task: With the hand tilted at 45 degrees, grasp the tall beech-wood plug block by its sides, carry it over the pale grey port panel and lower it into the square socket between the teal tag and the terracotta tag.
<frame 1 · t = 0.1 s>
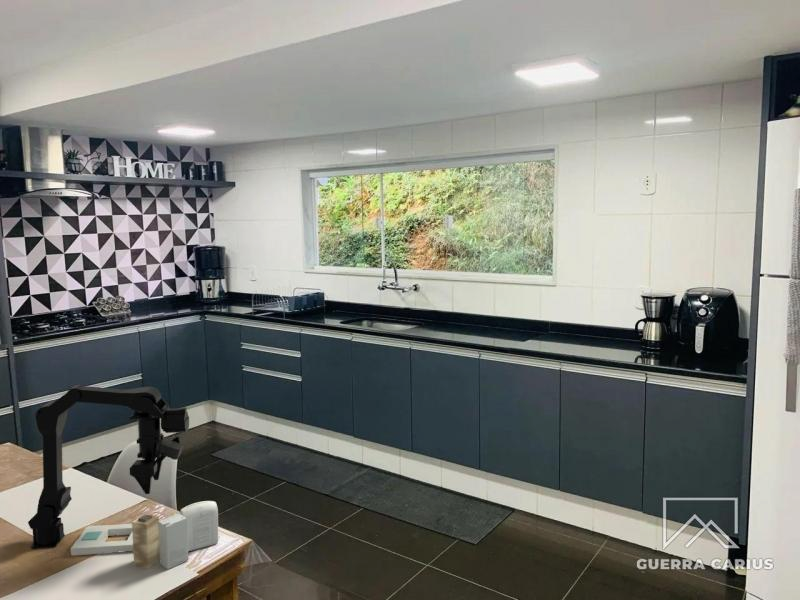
hand: (152, 486, 168), 15 cm above the table, tool pointing down, fingers open, 9 cm apart
skincare box: (174, 563, 156), on the table
port panel: (117, 541, 166), on the table
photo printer: (199, 546, 165), on the table
plug: (147, 562, 156), on the table
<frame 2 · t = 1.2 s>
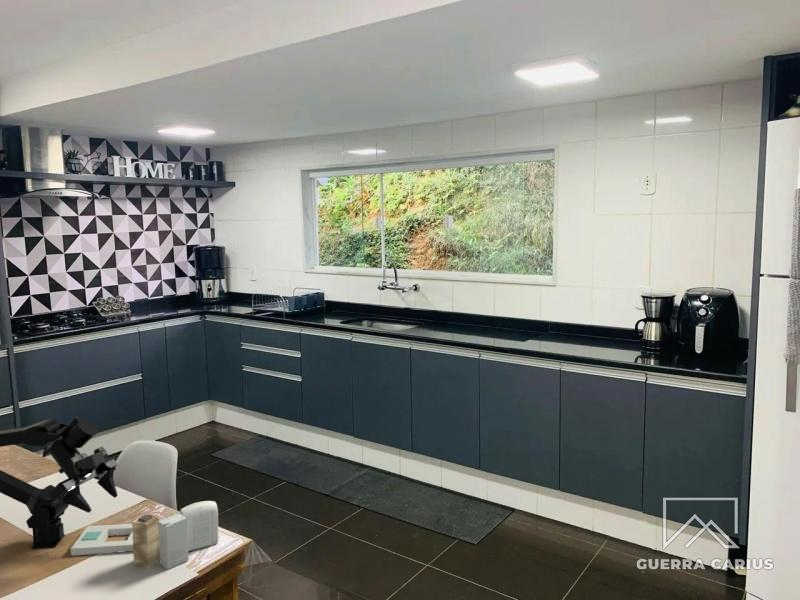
hand: (103, 503, 160), 13 cm above the table, tool tilted 45°, fingers open, 9 cm apart
nothing on the table moved.
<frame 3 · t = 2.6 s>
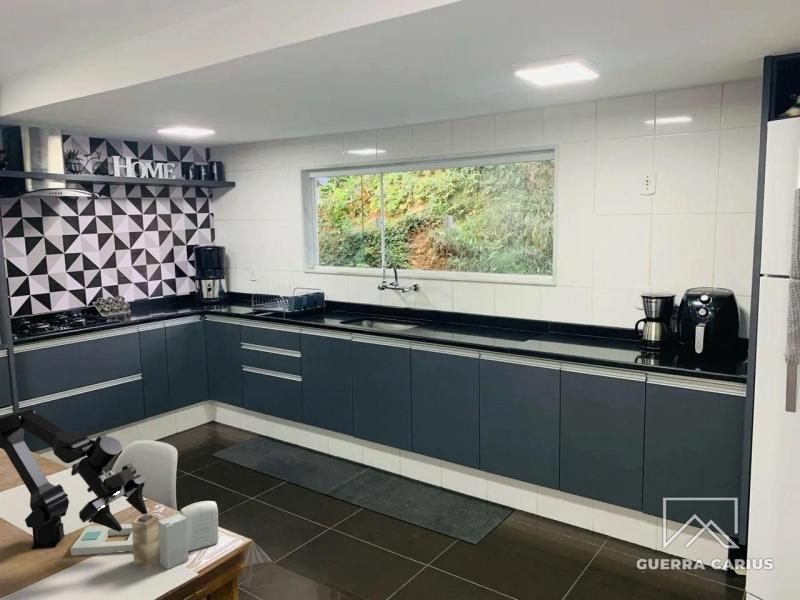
hand: (133, 522, 156), 11 cm above the table, tool tilted 45°, fingers open, 9 cm apart
nothing on the table moved.
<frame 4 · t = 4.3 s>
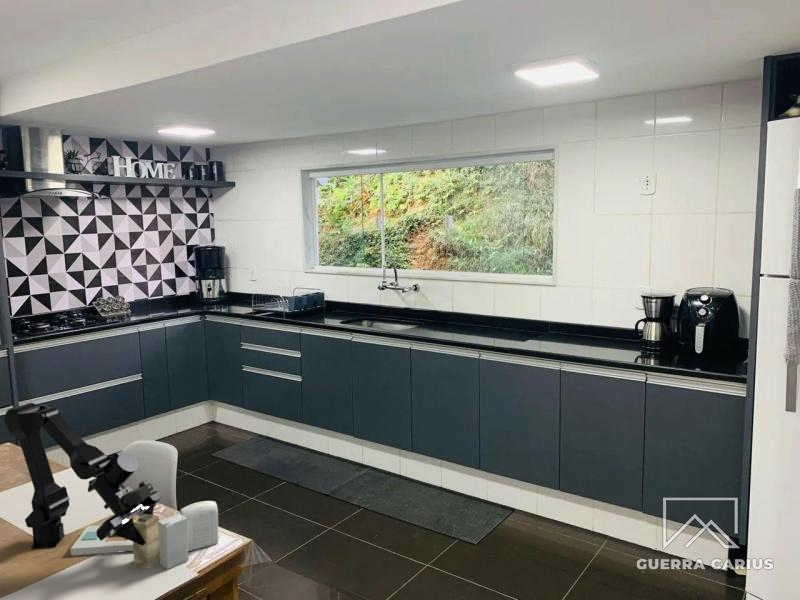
hand: (150, 539, 155), 7 cm above the table, tool tilted 45°, fingers closed on plug, 4 cm apart
plug: (147, 562, 156), on the table, touching gripper
everything else where it was.
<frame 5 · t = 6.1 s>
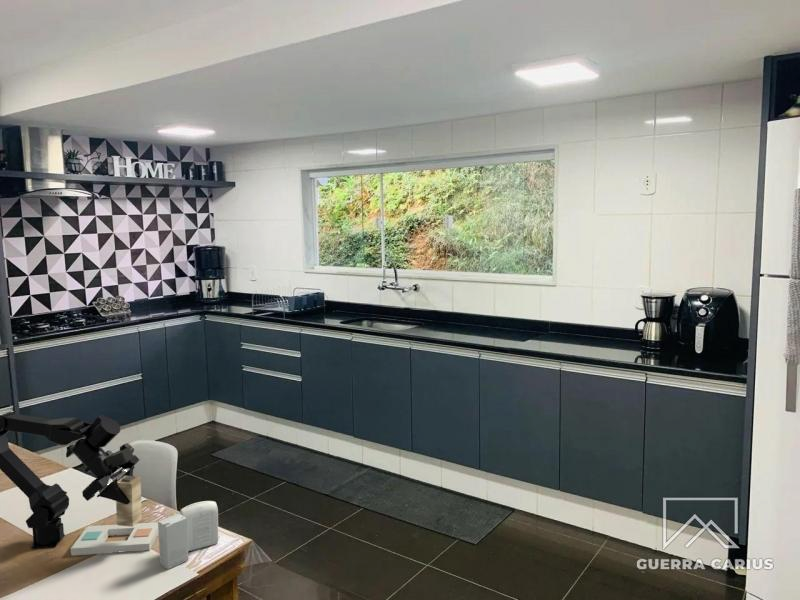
hand: (133, 499, 161), 14 cm above the table, tool tilted 45°, fingers closed on plug, 4 cm apart
plug: (129, 521, 162), point 8 cm above the table, touching gripper
everything else where it was.
when the fingers open (8 cm above the table, at t = 8.2 s): plug drops 2 cm, resting in port panel.
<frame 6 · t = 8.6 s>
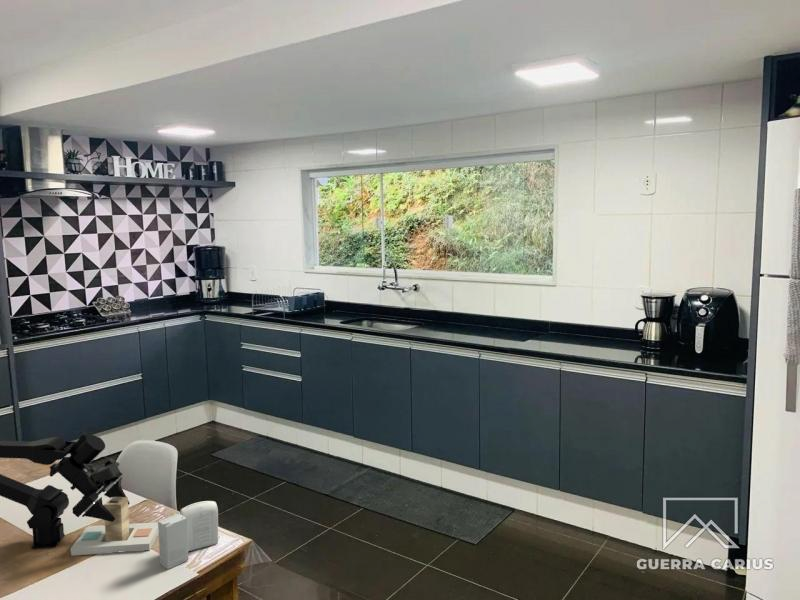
hand: (121, 512, 165), 9 cm above the table, tool tilted 45°, fingers open, 9 cm apart
plug: (117, 541, 166), resting in port panel
everything else where it was.
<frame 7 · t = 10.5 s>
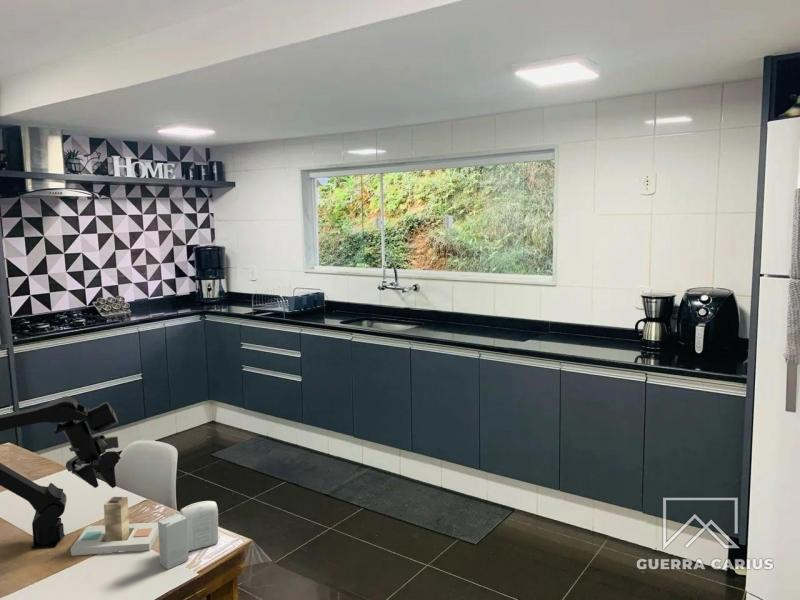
hand: (105, 487, 169), 14 cm above the table, tool tilted 20°, fingers open, 9 cm apart
nothing on the table moved.
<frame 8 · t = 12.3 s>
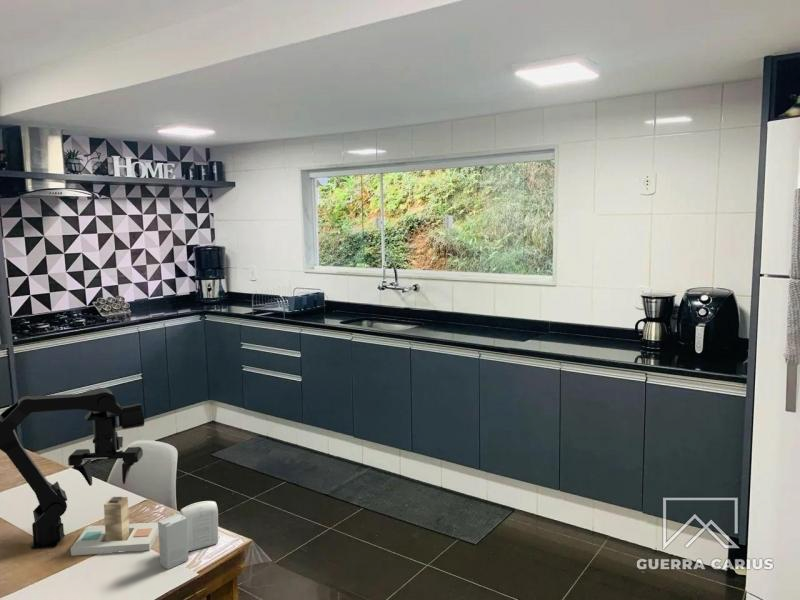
hand: (107, 484, 173), 13 cm above the table, tool pointing down, fingers open, 9 cm apart
nothing on the table moved.
at the end: plug inside the target area on the port panel (0.0 cm from its centre), point 0.0 cm above the port panel's base; plug tilted 0°; the gripper is holding nothing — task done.
